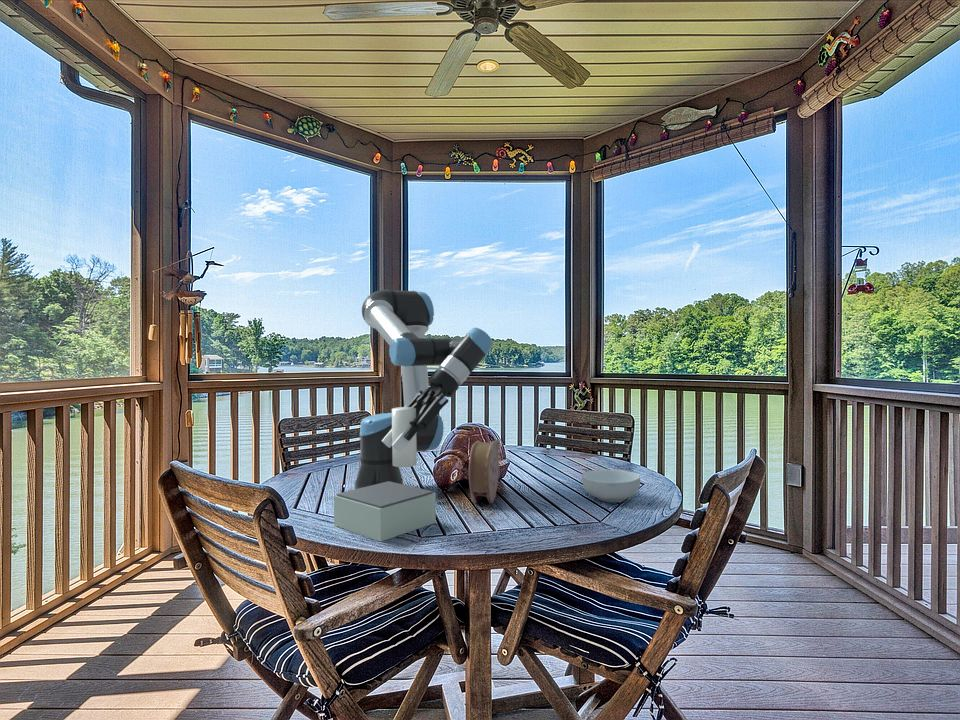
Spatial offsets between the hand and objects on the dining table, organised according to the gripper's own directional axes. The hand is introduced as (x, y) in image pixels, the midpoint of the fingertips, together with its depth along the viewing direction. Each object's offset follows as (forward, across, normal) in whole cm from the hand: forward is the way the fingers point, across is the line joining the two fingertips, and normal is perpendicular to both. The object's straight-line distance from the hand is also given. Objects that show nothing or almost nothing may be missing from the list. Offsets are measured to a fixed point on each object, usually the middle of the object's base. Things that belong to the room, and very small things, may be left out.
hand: (390, 446), depth 136 cm
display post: (+1, 0, -6) cm, 6 cm away
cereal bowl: (-31, -9, -61) cm, 69 cm away
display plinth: (+15, +4, -14) cm, 21 cm away
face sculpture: (-9, +11, -39) cm, 42 cm away
